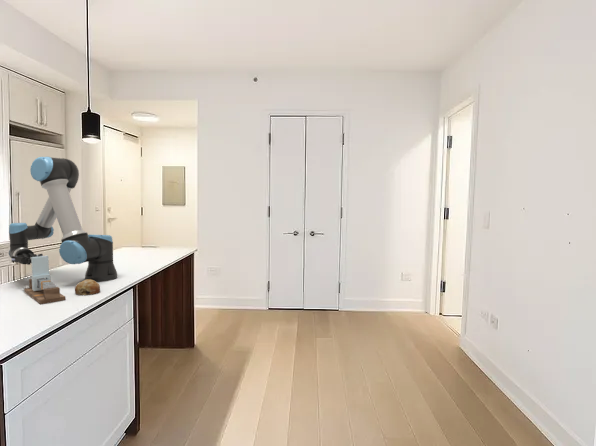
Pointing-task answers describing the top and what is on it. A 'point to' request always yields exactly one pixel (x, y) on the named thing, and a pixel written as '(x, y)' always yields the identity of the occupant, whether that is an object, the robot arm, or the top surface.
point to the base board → (44, 294)
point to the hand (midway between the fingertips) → (35, 261)
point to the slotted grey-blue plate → (39, 270)
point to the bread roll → (87, 287)
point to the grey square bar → (45, 283)
